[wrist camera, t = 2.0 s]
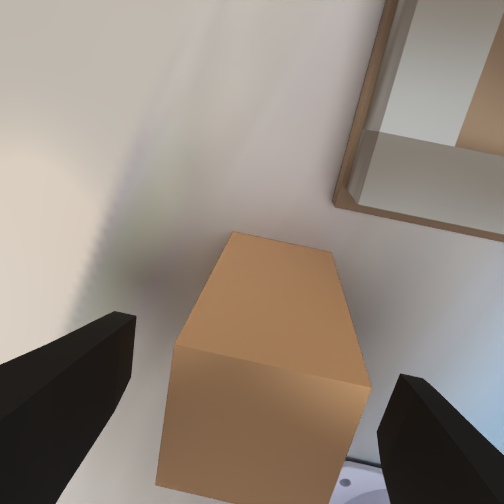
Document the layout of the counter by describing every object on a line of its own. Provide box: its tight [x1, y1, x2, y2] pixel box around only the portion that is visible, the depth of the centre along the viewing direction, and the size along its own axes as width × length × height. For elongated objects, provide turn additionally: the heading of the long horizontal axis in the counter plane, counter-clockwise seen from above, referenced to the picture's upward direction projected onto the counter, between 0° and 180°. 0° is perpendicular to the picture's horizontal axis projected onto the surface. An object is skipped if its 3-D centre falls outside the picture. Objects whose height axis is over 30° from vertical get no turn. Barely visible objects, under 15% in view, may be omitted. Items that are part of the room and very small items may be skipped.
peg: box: [155, 232, 372, 504], centre depth 12 cm, size 4×4×8 cm
